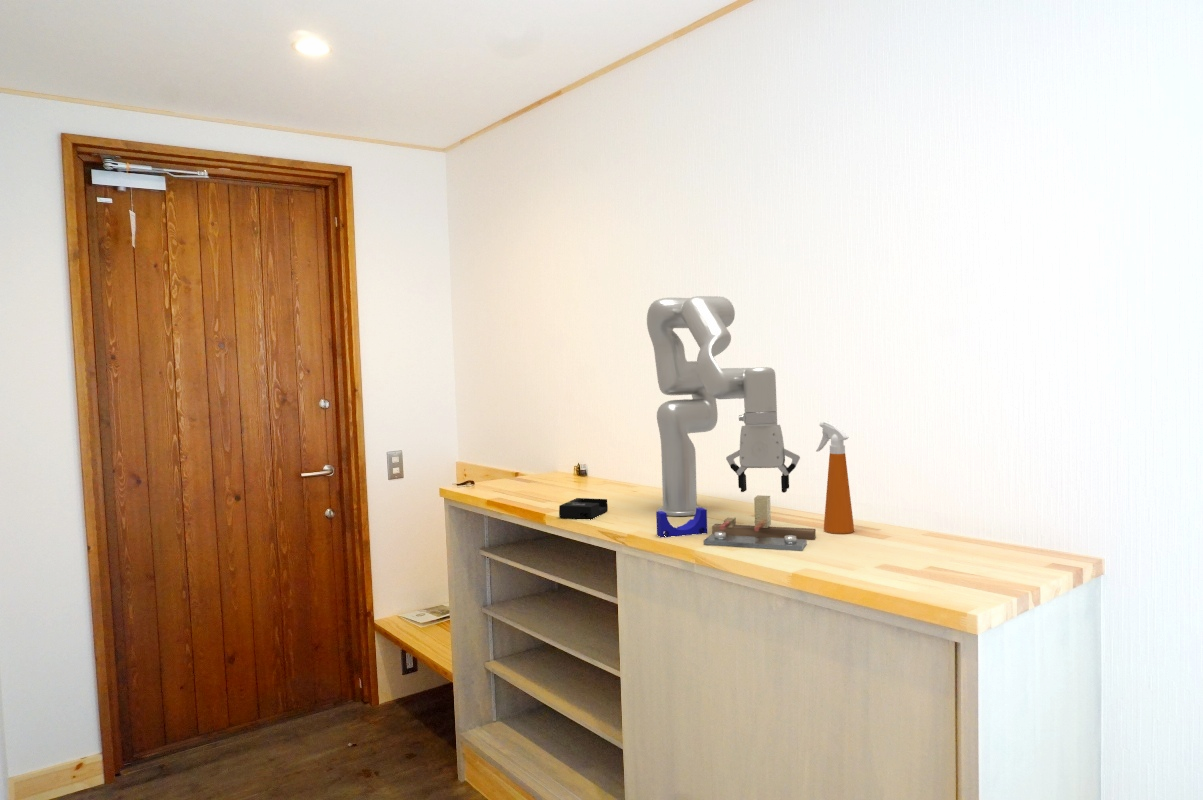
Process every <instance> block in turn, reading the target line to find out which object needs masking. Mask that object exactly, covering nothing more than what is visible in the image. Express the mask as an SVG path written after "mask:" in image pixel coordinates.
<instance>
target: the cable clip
mask: <svg viewBox="0 0 1203 800" xmlns="http://www.w3.org/2000/svg"><path fill="white" fill-rule="evenodd" d="M655 514H656V515H655V516H656V536H657V535H658V536H657V537H659V536H660V537H659V538H661V537H664V538H670V537H671V536H675V537H683V536H682V535H685V536H693V535H692V534H696V535H703V534H702V533H706V534H708V509H706V508H703V507H702V508H696V514H695V515H694V517H693V518H692V519H689V520H688V521H687V522H686V523H685V524H682V525H680V526H677V527H675V526H673V525H672V524H671V523H670V522H669V521H670V520H669V519H668V515H667V513H665V512H663V511H658V510H657V511H656V513H655ZM664 535H665V536H666V537H665V536H664ZM671 538H672V537H671Z"/></svg>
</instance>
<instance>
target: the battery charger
mask: <svg viewBox="0 0 1203 800" xmlns="http://www.w3.org/2000/svg"><path fill="white" fill-rule="evenodd" d="M608 506H609V505H608V499H607V498H587V497H576V498H575V499H571V500H570V501H567V502H565V503H562V504H560V505H559V508H558V516H559V519H561V520H577V519H590V520H589V521H592V520H594V519H596V518H598V517H600V516H602V515H604V514H606V513H608V509H609V507H608ZM599 515H600V516H599ZM597 516H598V517H597ZM595 517H596V518H595ZM593 518H594V519H593ZM591 519H592V520H591Z"/></svg>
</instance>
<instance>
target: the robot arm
mask: <svg viewBox="0 0 1203 800" xmlns="http://www.w3.org/2000/svg"><path fill="white" fill-rule="evenodd" d="M735 314H736V311H735V307H734V305H733V303H732V302H731V301H730V299H728V298H727V297H724V296H718V295H717V296H713V295H712V296H711V295H710V296H709V295H697V296H692V297H663V298H659V299H656V300H654V301H653V302H652V303H651V304H650V305H649V308H648V310H647V314H646V327H647V331H648V334H649V338H650V340H651V343H652V347H653V352H654V360H655V362H654V363H655V367H656V377H657V378H656V379H657V383H658V388H659V390H660V392H661V393H662V394H663V395H666V396H689V395H691V397H692V398H691V399H688V398H687V399H685V398H684V399H672V400H667V401H665V402H663V403H662V404H660V405H659V407H658V408H657V410H656V420H657V427H658V432H659V437H660V449H661V451H660V452H661V455H660V456H661V478H662V479H661V480H662V481H661V482H662V483H661V485H662V487H661V488H662V506H659V507H658V508H657V511H663V512H665V513H667V517H668V516H669V517H686V516H687V517H689V516H695V514H696V508H703V507H702V506H699V505H698V502H697V501H698V500H697V499H698V498H697V497H698V496H697V495H698V493H697V491H698V490H697V459H696V458H697V457H696V456H697V455H696V448H695V445H694V443H693V441H692V439H691V438H690V436H689V435H688V434H696V433H697V434H698V433H707V432H710V431H713V430H714V428H716V425H717V422H718V404H717V400H734V399H739V400H741V399H743V404H744V412H743V413H742V414H740V415H738V421H739V422H741V421H742V422H743V423H744V425H742V426H741V428H740V436H739V437H740V438H739V449H738V450H737V451H734V452H733V453H731V454H729V455H727V456H726V458H725V459H726V461H727V463H728V465H729V466H730V469H731V470H732V471H733V472H735V474H736V475H737V478H738V479H737V483H738V484H737V485H738V489H740V492H741V493H745V492H746V491H747V475H746V473H745V472H746V470H747V469H776V468H777V469H778V470H779V471H780V472H781V473H782V474H781V477H780V480H781V482H780V484H781V487H780V488H781V493H787V492H788V490H789V489H790V474H791V473H792V471H794V470H795V468H797V465H798V463H799V461H800V460H801V456H800V455H799V454H797V453H795V452H792V451H790V450H789V449H786V448H785V443H784V437H783V432H782V427H781V424H778V407H777V406H778V405H777V403H778V401H777V386H776V385H777V384H776V383H777V381H776V379H777V378H776V371H775V369H774V368H772V367H767V366H766V367H765V366H763V367H730V368H729V367H728V368H727V367H726V368H721V367H720V366H719V365H718V362H717V361H716V360H715V357H716V356H718V355H721V354H722V353H723V352H724V351H725V350H726V349H727V348H728V347H729V346H730V344H731V340H732V334H731V333H730V331H729V329H728V327H730V326H731V325H732V324H733V322H734V320H735ZM674 329H688V330H689V332H690V333H691V335H692V337H693V339H694V340H695V342H696V344H697V345H698V347H699V349H700V350H699V352H698V353H697V358H696V360H692V361H689V360H687V358H686V353H685V351H686V350H685V346H684V342H683V341H682V340H681V337H680V336H679V335H678V334H677V333H676V331H674ZM738 457H739V464H740V466H739V465H738V464H737V463H736V462H735V459H736V458H738ZM786 457H788V458H789V459H791V460H792V461H791V463H790V464H789V466H787V465H786V464H785V462H786Z"/></svg>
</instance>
